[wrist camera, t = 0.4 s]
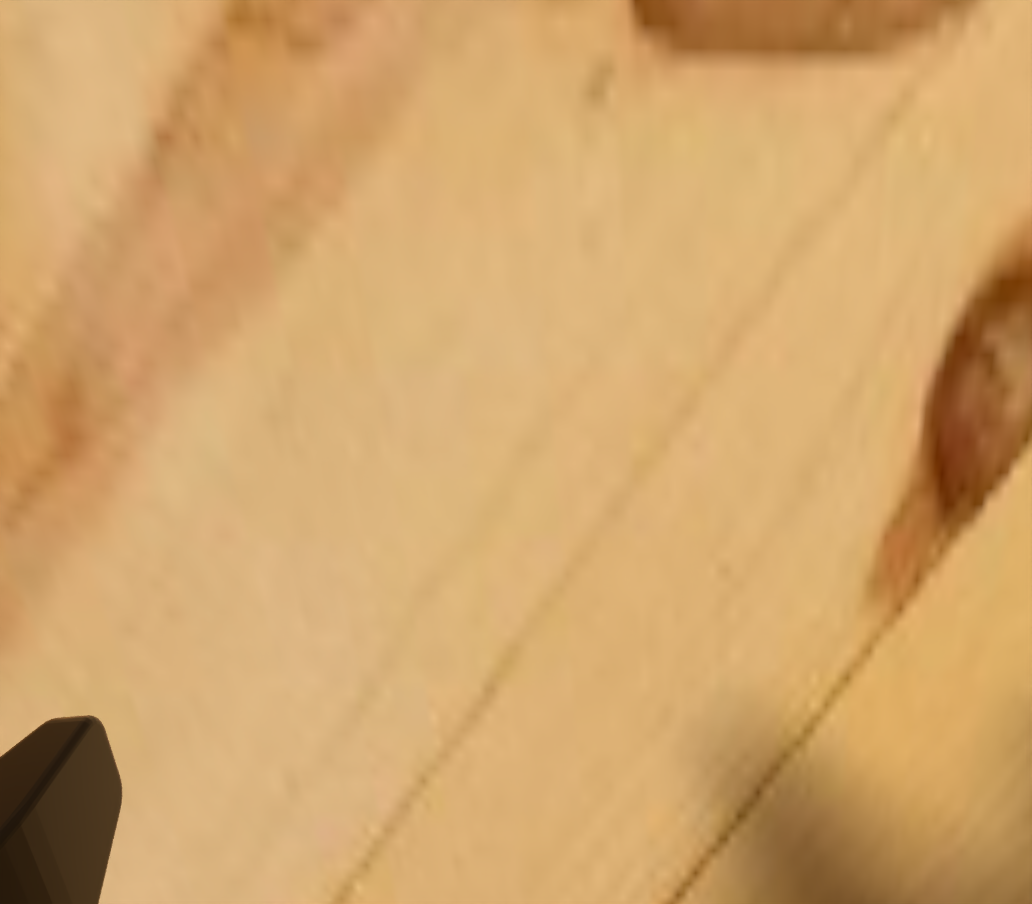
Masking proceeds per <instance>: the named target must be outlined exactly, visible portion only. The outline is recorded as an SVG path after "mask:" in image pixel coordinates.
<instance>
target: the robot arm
mask: <svg viewBox="0 0 1032 904" xmlns="http://www.w3.org/2000/svg"><path fill="white" fill-rule="evenodd" d="M121 803H122V784H121V779H120V775H119V772H118V769H117V766H116V762H115V759H114V756H113V753H112V750H111V747H110V744H109V741H108V737H107V734H106V731H105V728H104V726H103V724H102V722H101V721H100V720H99V719H98V718H96V717H94V716H89V715H88V716H75V717H62V718H55V719H51V720H49V721H47V722H45V723H44V724H42V725H41V726H39V727H38V728H37V729H36V730H34V731H33V732H32V733H30V734H29V735H28V736H27V737H25V738H24V739H23V740H21V741H20V742H19V743H18V744H16V745H15V746H14V747H12V748H11V749H10V750H9V751H7V752H6V753H5V754H4V755H2V756H1V757H0V904H98V903H99V899H100V894H101V890H102V886H103V882H104V877H105V873H106V869H107V865H108V860H109V856H110V852H111V847H112V843H113V839H114V835H115V830H116V826H117V822H118V817H119V813H120V809H121Z"/></svg>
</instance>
